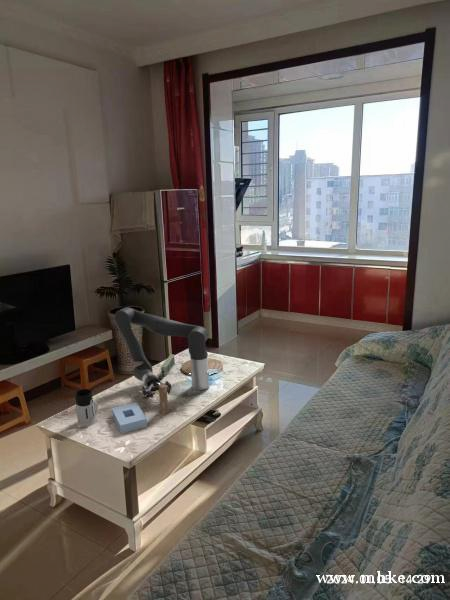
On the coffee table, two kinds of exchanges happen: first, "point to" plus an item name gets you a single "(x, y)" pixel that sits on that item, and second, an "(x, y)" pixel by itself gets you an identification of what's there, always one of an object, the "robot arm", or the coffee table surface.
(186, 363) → the trivet
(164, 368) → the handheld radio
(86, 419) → the white travel mug
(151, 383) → the robot arm
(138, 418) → the end cap
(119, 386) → the coffee table surface
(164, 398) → the slat
